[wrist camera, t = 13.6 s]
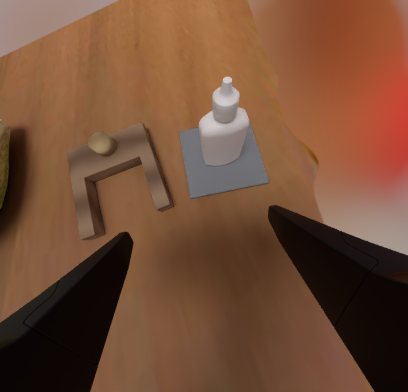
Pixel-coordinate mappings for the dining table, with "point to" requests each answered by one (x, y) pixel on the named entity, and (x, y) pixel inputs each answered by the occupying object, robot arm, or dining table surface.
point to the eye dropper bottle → (223, 127)
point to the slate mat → (221, 167)
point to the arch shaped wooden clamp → (112, 172)
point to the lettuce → (4, 158)
